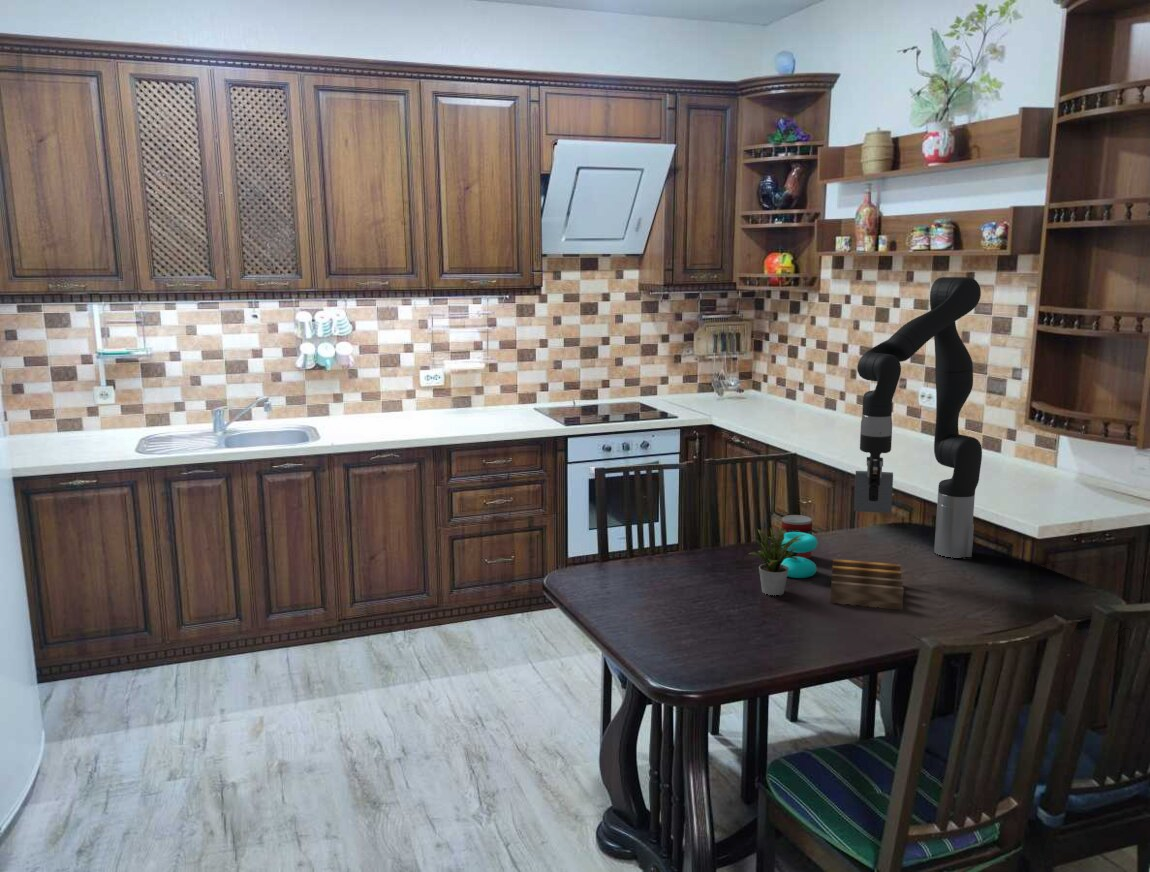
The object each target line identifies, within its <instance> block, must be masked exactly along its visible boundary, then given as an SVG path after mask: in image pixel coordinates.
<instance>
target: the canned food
mask: <svg viewBox="0 0 1150 872" xmlns="http://www.w3.org/2000/svg"><path fill="white" fill-rule="evenodd" d="M782 527H783V531H784V530H785V533H788V532H803V533H808V534H811V535H813V531H812V530H813V519H812V517H809V516H806V515H799V514H790V515H788V514H787V515H785V516H783V517H782V518H781V528H782ZM781 550H782V548H780V551H781ZM787 552H789V551H786V552H785V553H787ZM785 553H784V554H785ZM792 553H794V554H793V555H790V556H792V557H803V558H807V559H809V560H811V557H812V556H811V555H812V551H810V552H805V553H795V552H792ZM781 555H782V554H781Z"/></svg>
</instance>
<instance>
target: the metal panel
mask: <svg viewBox="0 0 1150 872" xmlns="http://www.w3.org/2000/svg"><path fill="white" fill-rule="evenodd" d="M854 481H855V482H854V483H855V484H854V503H853V504H854V506H853V511H854V512H863V513H867V512H868V513H881V514H892V510H893V505H892V503H893V487H894V485H893V484H894V472H892V471H891V472H890V471H889V472H888V471H882V477H881V478H880V486H879V488H878V501H869V485H868V483H869V477H868V476H867V470H865V471H864V470H855V480H854ZM871 481H877V479H872V480H871Z"/></svg>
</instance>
